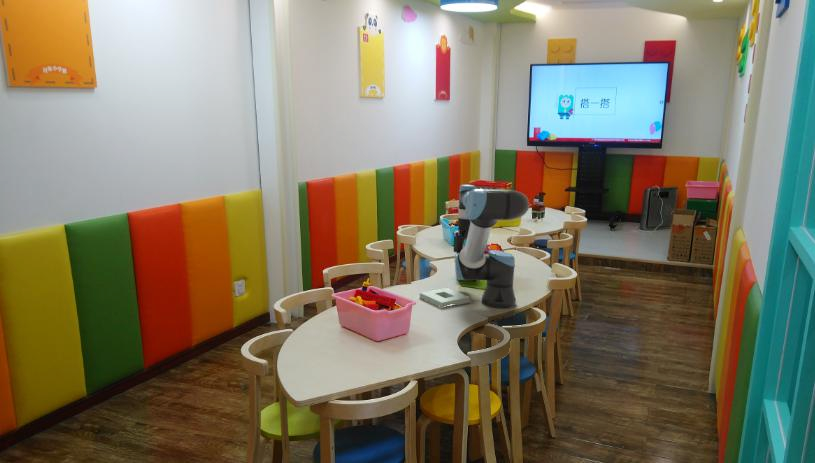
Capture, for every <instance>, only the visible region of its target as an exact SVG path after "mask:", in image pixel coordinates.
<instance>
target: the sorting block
mask: <svg viewBox="0 0 815 463" xmlns="http://www.w3.org/2000/svg"><path fill="white" fill-rule="evenodd" d="M421 298H422V299H421ZM419 299H421V300H423V299H424V300H423V301H425V300H426V301H425V302H427V301H429V302H431V303H433V304H432V305H434V304H435V305H434V306H436V305H437V307H438V306H440V307H444V306H447V305H450V304H457V305H456V306H458V305H459V306H460V305H463V304H468V303H471V301H470V299H471V297H470V296H468V295H466V294H463V293H461V292H459V291H457V290H453V289H452V288H449V287H445V288H439V289H434V290H433V289H432V290H428V291H423V292H419ZM429 302H428V303H429ZM431 303H430V304H431ZM440 307H439V308H440Z"/></svg>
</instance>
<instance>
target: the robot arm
mask: <svg viewBox="0 0 815 463" xmlns="http://www.w3.org/2000/svg"><path fill="white" fill-rule="evenodd" d="M458 193H459V194H458V213H457V214H458V215H457V216H458V218H457V226H458V228H457V230H456V231H453V232H452V234H453V252H454V253H455V254H454V267H455V268H454V270H455V272H454V273H455V277H456V280H457V279H459V280H458V281H467V280H476V281H486V286H485V288H484V291H483V294H481V304H483V305H484V306H487V307H491V308H494V309H495V308H497V309H508V308H509V309H510V308H513V307H515V306H516V304H517V299H516V296H515V295H516V294H515V291H514V279H515V276H514V275H515V266H516V265H515V260H516V259H515V257H514V255H513V254H512V253H510V252H506V251H504V250H498V249H492V250H491V249H490V250H488V253H485V251H486V248H487V245H488V240H489V238H490V234H491V230H492V228H493V227H494V226H496V224H497V223H498V221H510V220H517V219H519V218H521V217H523V216H525V215H526V213H527V212H528V211H529V208H530V201H529V198H528V196H527V195H526V194H524V193H522V192H521V191H517V190H514V189H491V188H490V189H487V188H476V186H475V185H473V184H461V185H460V186H459V191H458ZM464 242H465V245H464ZM463 245H464V246H465V248H463ZM462 248H463V249H462Z"/></svg>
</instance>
